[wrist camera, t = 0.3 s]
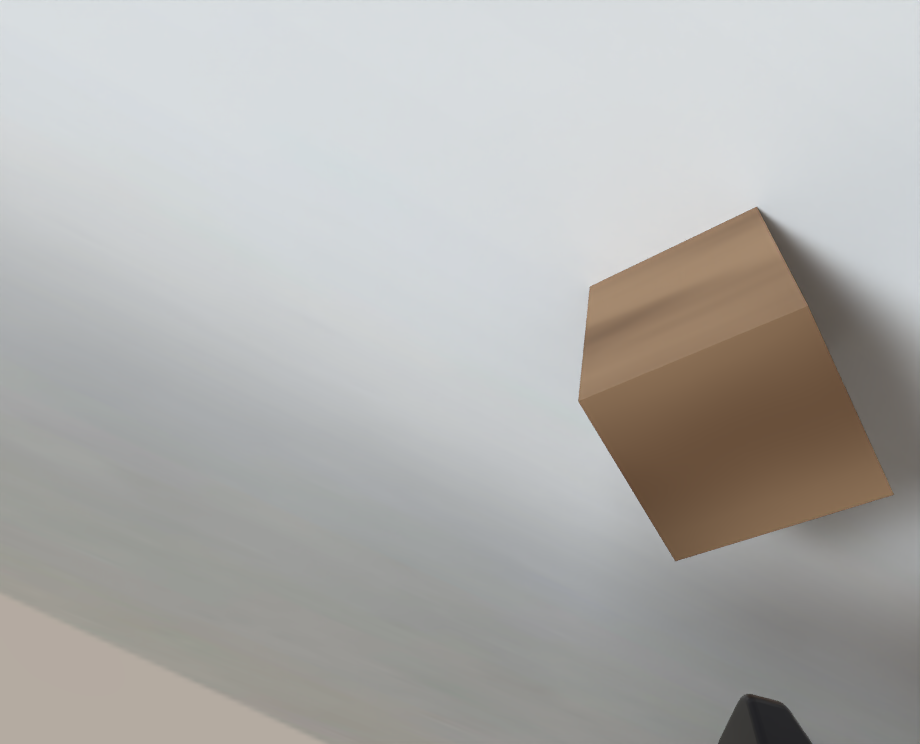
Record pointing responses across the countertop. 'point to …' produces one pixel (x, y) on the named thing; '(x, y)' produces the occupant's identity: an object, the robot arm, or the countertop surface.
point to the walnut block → (722, 393)
